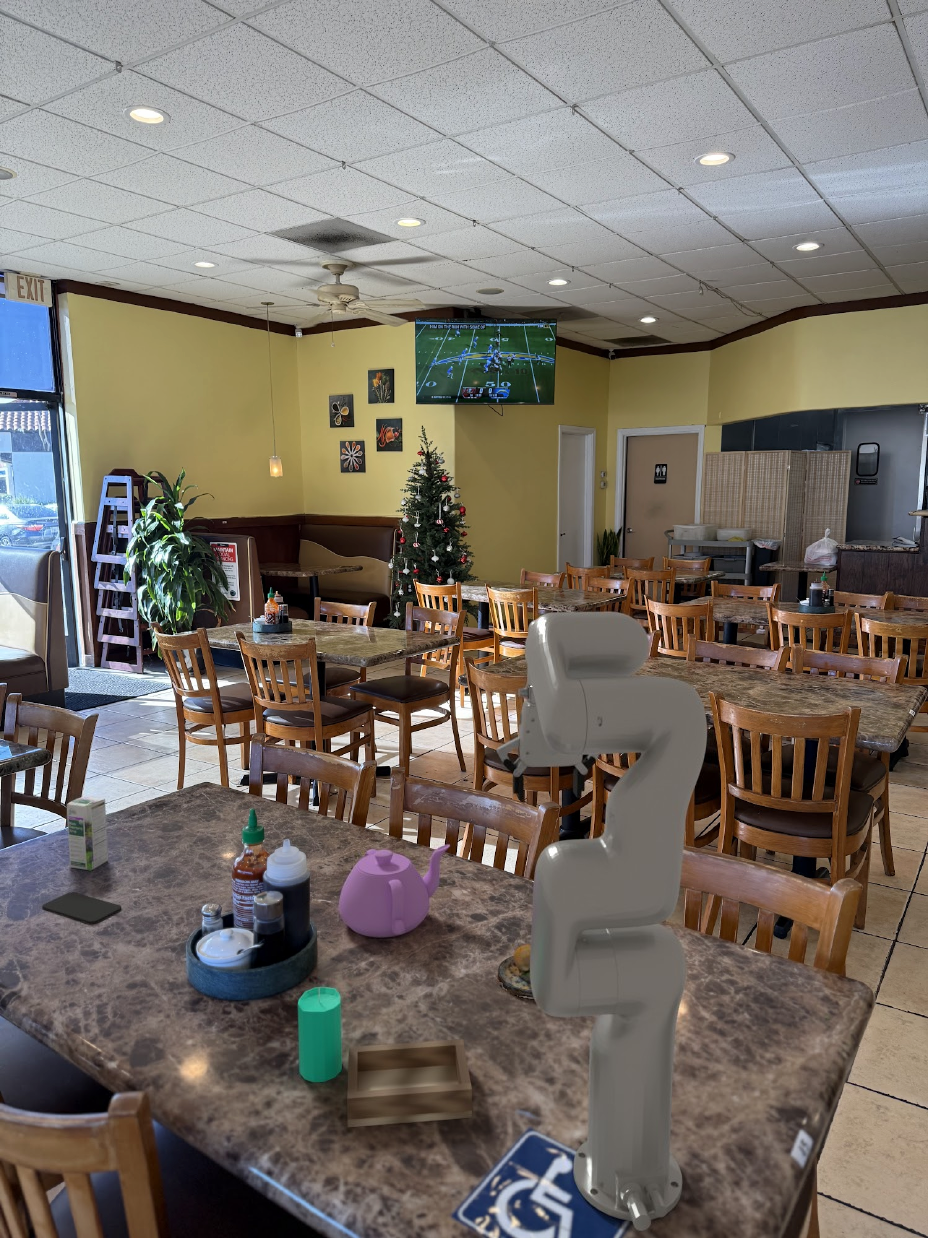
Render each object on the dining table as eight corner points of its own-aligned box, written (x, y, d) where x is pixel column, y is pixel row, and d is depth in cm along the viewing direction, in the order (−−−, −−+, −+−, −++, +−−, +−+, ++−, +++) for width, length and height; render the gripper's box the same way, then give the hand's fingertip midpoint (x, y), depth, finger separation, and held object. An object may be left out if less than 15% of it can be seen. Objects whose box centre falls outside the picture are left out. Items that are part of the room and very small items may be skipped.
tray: (462, 1062, 122) (462, 1038, 121) (472, 1117, 111) (472, 1091, 110) (349, 1070, 120) (348, 1045, 119) (347, 1127, 109) (347, 1100, 108)
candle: (322, 1049, 125) (321, 972, 123) (351, 1066, 121) (349, 987, 119) (290, 1070, 120) (288, 990, 118) (318, 1088, 116) (317, 1007, 114)
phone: (71, 891, 174) (124, 906, 167) (71, 894, 174) (124, 910, 167) (39, 906, 167) (92, 922, 160) (39, 910, 167) (92, 927, 160)
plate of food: (564, 1005, 136) (565, 961, 135) (491, 996, 138) (492, 953, 137) (570, 966, 148) (571, 925, 146) (503, 958, 150) (503, 918, 149)
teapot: (470, 936, 157) (470, 864, 155) (355, 959, 149) (353, 884, 147) (430, 886, 177) (430, 822, 175) (327, 904, 169) (325, 837, 167)
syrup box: (68, 868, 185) (64, 804, 183) (88, 857, 191) (84, 795, 189) (90, 871, 183) (86, 806, 181) (109, 860, 189) (106, 797, 187)
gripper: (500, 701, 134) (499, 806, 136) (608, 699, 135) (605, 802, 138) (494, 691, 141) (493, 790, 143) (596, 688, 143) (593, 787, 145)
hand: (548, 796), depth 141 cm, fingers open, 9 cm apart
